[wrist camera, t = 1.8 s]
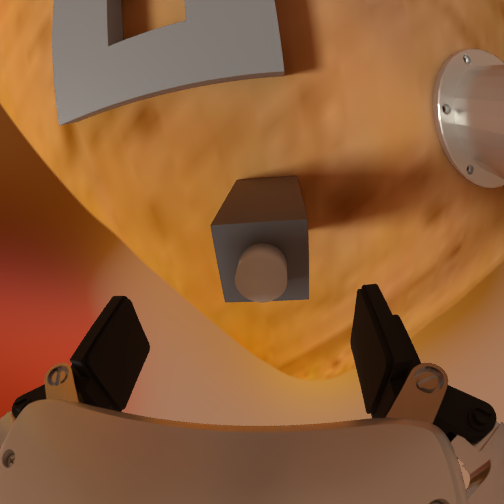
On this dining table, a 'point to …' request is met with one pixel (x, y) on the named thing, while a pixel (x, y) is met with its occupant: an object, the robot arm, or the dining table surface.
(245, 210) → the plug
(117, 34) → the socket plate
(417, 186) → the dining table surface
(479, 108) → the robot arm
